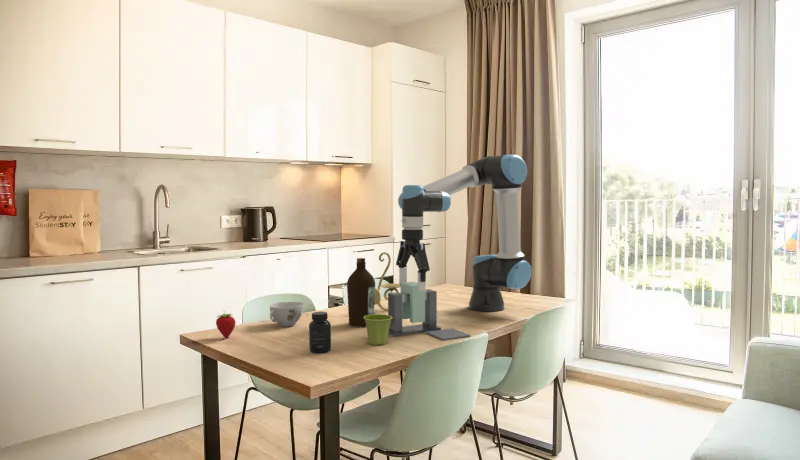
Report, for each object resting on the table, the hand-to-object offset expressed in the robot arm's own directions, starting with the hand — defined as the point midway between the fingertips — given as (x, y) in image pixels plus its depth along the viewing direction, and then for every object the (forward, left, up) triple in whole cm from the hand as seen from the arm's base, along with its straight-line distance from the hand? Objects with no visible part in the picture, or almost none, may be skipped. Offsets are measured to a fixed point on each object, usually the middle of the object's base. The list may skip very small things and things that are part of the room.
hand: (411, 288), depth 200 cm
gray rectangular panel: (-8, +11, -15) cm, 21 cm away
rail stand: (0, 0, -15) cm, 15 cm away
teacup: (+38, -30, -16) cm, 51 cm away
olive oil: (+12, -18, -16) cm, 27 cm away
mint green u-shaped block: (0, 0, -11) cm, 11 cm away
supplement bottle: (+38, +9, -16) cm, 42 cm away
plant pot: (+18, +9, -16) cm, 25 cm away
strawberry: (+61, -21, -16) cm, 66 cm away
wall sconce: (-8, -36, -16) cm, 40 cm away
